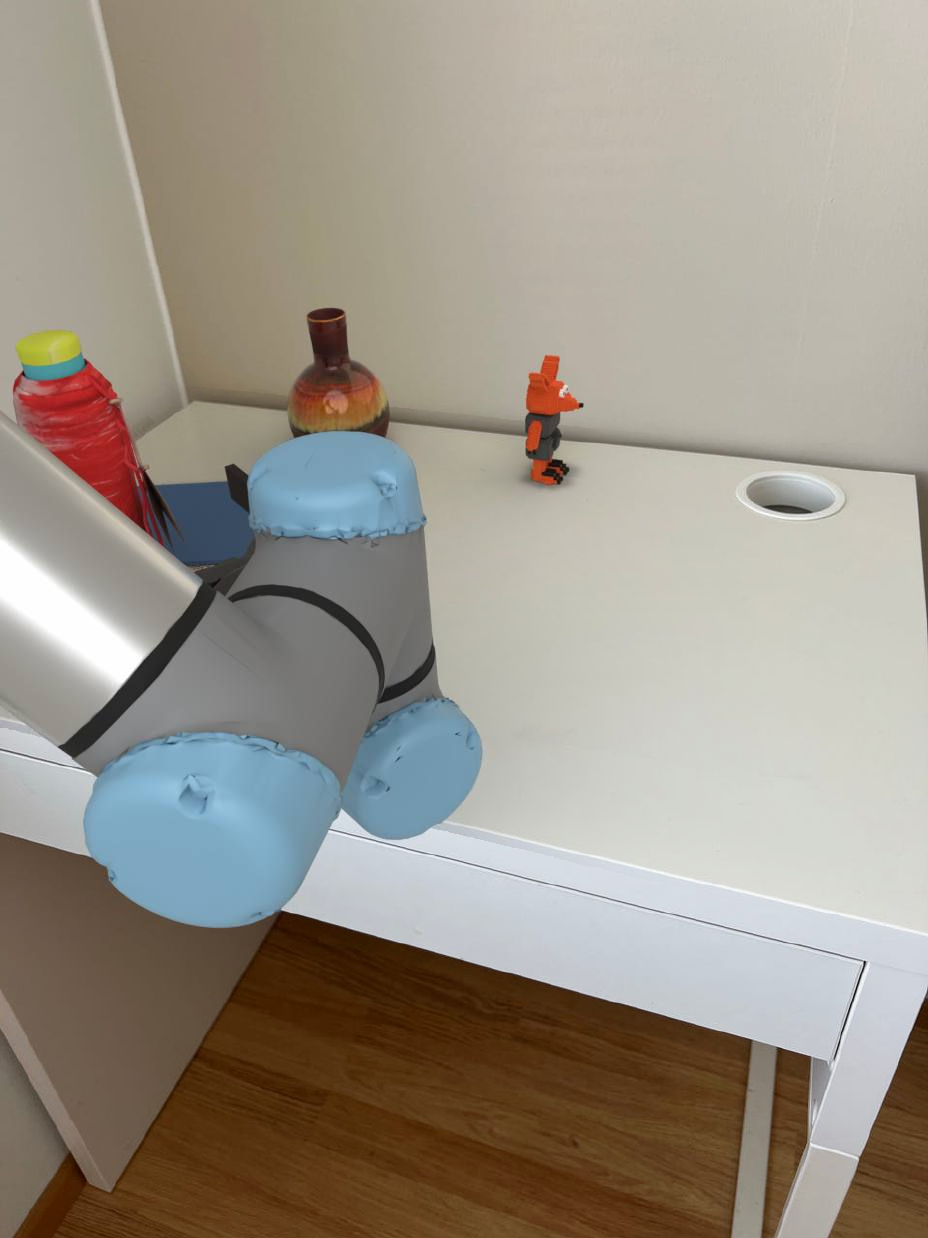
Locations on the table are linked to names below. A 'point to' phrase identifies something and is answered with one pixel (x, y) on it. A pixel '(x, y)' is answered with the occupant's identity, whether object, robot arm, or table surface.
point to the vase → (335, 385)
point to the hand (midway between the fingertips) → (146, 509)
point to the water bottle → (84, 425)
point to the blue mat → (203, 523)
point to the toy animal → (546, 421)
